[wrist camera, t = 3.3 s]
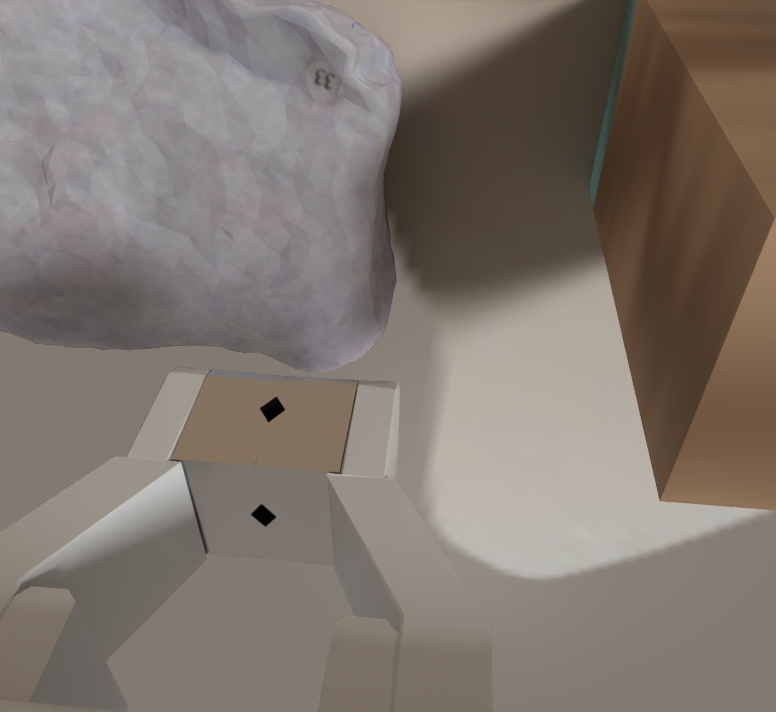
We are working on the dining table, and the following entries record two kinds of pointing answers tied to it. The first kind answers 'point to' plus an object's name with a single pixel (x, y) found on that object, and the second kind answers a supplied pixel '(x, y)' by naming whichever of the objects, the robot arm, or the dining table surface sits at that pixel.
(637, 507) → the dining table surface
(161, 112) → the stone block
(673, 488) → the walnut block
